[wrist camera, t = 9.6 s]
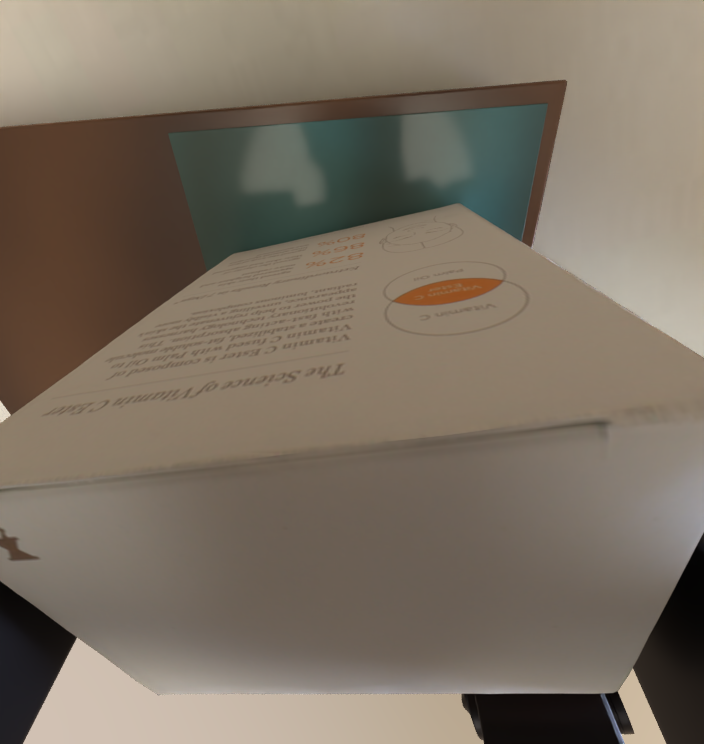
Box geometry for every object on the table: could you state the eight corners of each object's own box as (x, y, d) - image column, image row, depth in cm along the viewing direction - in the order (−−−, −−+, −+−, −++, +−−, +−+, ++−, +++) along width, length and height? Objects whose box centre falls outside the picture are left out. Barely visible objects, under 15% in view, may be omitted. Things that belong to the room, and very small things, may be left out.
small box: (280, 379, 15) (145, 701, 6) (230, 249, 12) (-143, 509, 4) (471, 351, 14) (631, 708, 5) (465, 197, 11) (818, 409, 2)
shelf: (503, 102, 15) (572, 77, 9) (469, 354, 21) (498, 422, 16) (-21, 143, 17) (-203, 142, 11) (94, 361, 23) (11, 424, 18)
